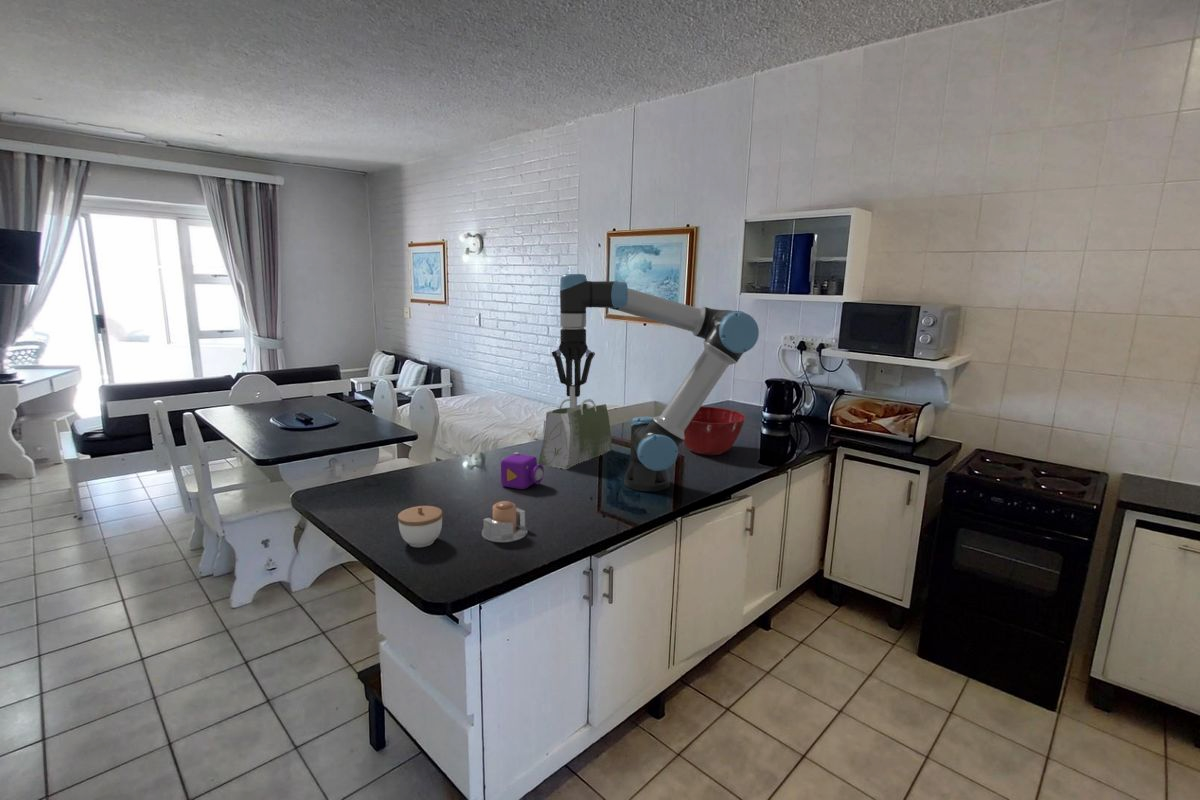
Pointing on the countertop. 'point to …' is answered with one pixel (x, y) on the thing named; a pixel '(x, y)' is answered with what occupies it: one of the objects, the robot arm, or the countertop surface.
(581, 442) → the grocery bag
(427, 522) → the lidded jar
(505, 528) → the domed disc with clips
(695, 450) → the mixing bowl
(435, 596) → the countertop surface
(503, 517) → the tan tapered cylinder
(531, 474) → the toy camera
